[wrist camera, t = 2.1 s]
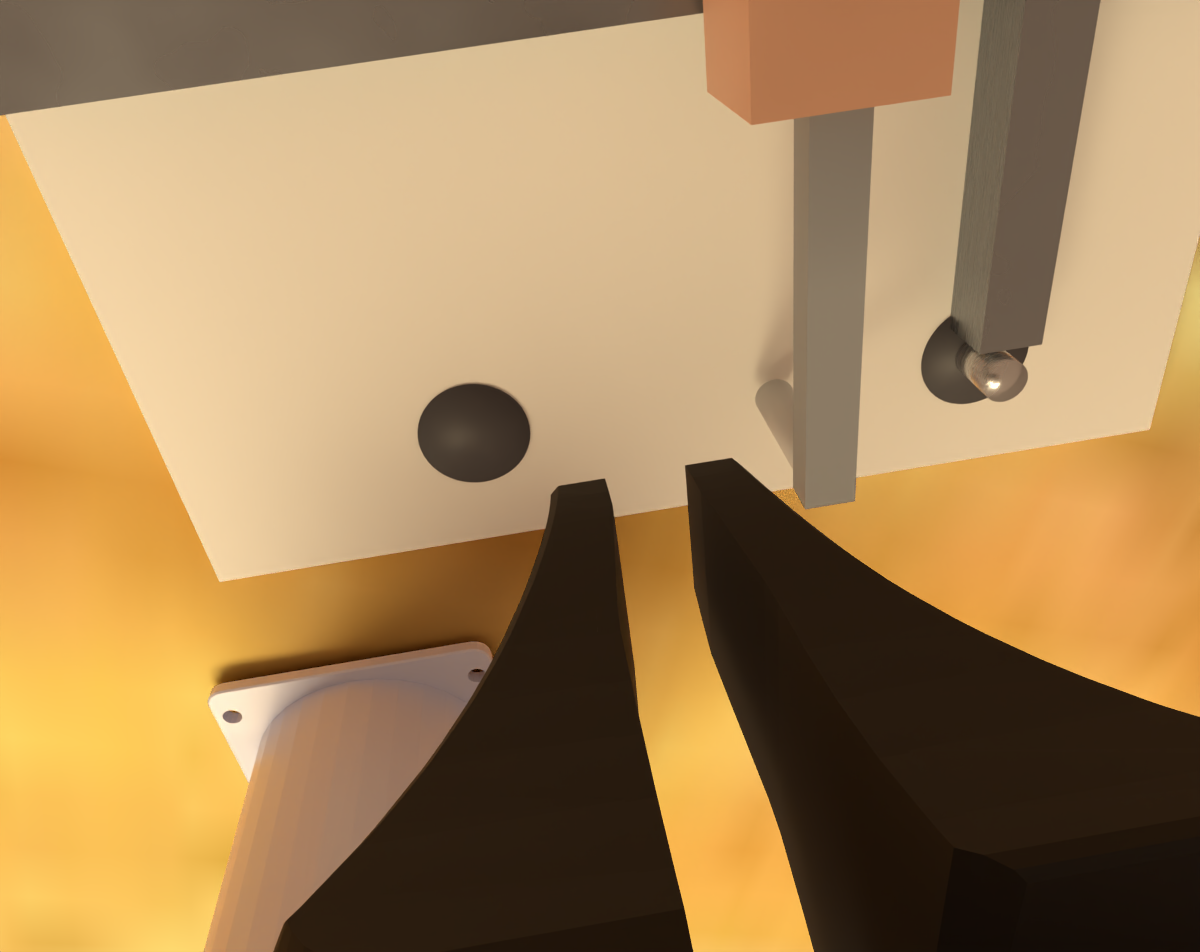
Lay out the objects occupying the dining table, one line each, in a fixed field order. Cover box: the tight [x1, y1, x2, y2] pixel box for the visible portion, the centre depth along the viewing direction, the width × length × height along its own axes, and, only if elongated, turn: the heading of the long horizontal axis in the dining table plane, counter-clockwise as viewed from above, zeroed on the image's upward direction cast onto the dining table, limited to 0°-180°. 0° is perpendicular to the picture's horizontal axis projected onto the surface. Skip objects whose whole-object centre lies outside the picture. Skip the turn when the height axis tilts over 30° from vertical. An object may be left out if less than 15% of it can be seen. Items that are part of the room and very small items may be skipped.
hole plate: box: [6, 0, 1200, 582], centre depth 18 cm, size 16×24×1 cm, turn 97°
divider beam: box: [0, 0, 1101, 402], centre depth 18 cm, size 10×23×2 cm, turn 97°
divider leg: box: [703, 0, 960, 509], centre depth 16 cm, size 11×3×4 cm, turn 7°
